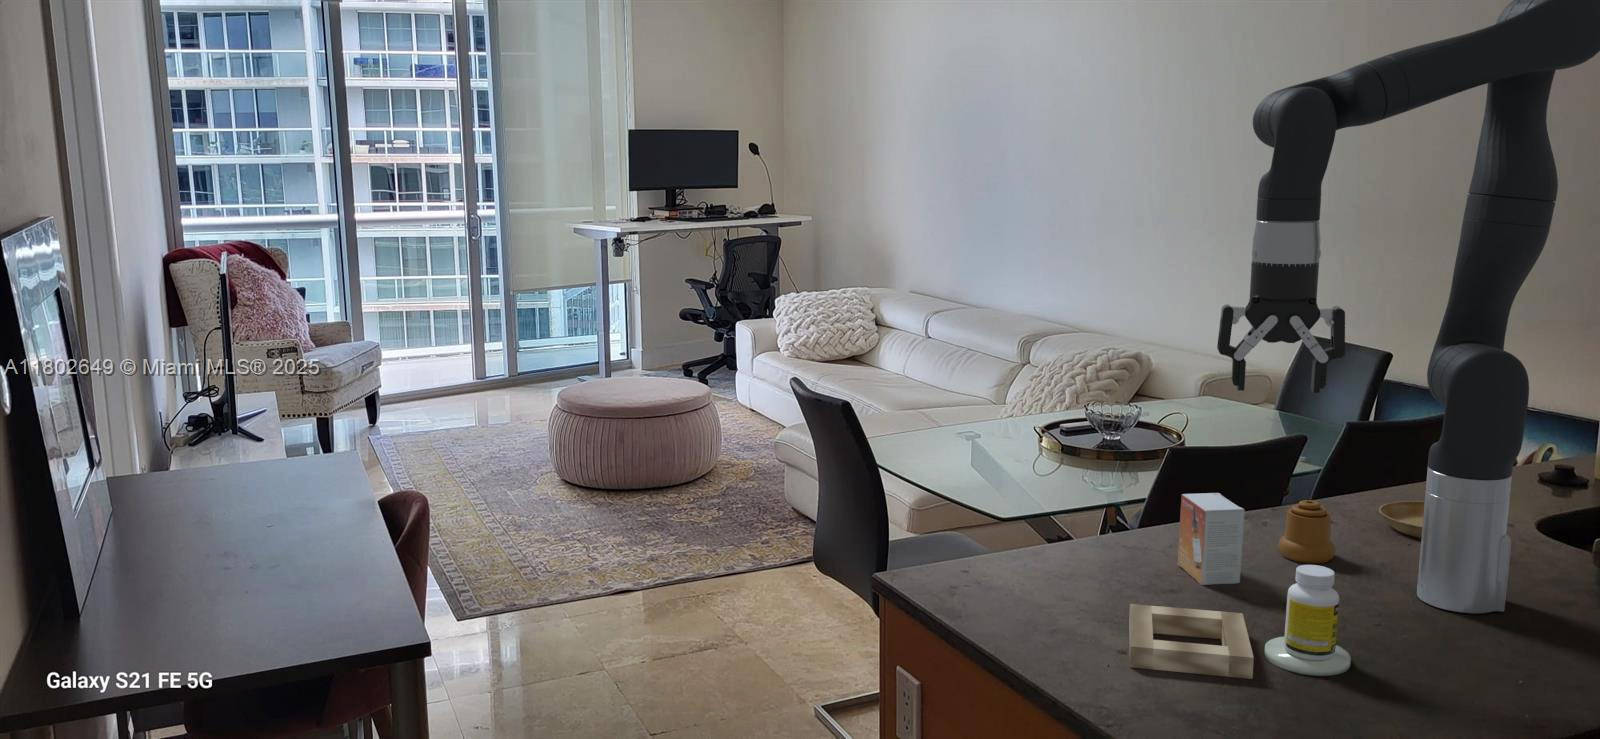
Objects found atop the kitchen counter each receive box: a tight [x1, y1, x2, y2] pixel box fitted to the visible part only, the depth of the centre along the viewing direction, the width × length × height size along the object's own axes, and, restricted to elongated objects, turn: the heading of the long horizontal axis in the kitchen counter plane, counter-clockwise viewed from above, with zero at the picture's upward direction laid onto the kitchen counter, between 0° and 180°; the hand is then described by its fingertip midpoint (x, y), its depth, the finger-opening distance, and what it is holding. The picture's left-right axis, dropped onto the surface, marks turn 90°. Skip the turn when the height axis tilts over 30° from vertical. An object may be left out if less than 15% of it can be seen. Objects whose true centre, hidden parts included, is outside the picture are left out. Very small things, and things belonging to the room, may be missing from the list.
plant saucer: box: [1378, 500, 1425, 539], centre depth 179 cm, size 15×15×3 cm
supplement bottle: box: [1283, 564, 1340, 660], centre depth 133 cm, size 5×5×10 cm
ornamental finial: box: [1278, 499, 1336, 564], centre depth 167 cm, size 8×8×8 cm
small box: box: [1177, 492, 1246, 586], centre depth 160 cm, size 8×6×10 cm
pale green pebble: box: [1264, 636, 1352, 677], centre depth 134 cm, size 9×9×1 cm
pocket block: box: [1128, 603, 1255, 680], centre depth 137 cm, size 13×13×2 cm
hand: (1277, 390), depth 144 cm, fingers open, 8 cm apart
